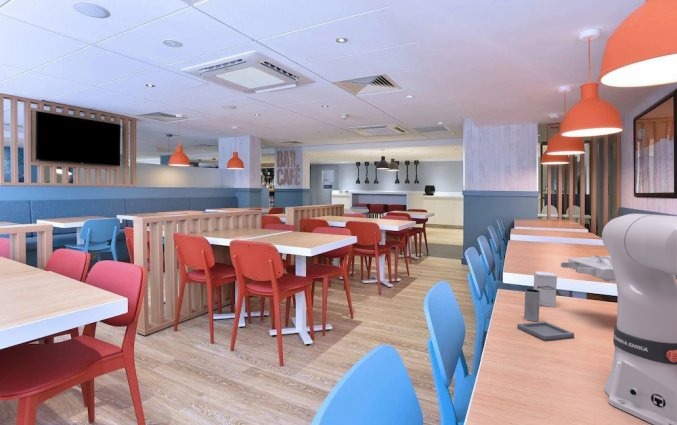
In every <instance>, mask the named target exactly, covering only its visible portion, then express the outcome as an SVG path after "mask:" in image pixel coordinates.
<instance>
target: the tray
mask: <svg viewBox="0 0 677 425" xmlns="http://www.w3.org/2000/svg"><path fill="white" fill-rule="evenodd" d="M516 328H517V329H518V330H520V331H521V332H524V333H526V334H527V335H530V336H532V337H534V338H537V339H539V340H541V341H543V342H550V341H552V342H553V341H560V340H561V341H562V340H571V339H575V332H572V331H570V330H567V329H564V328H563V327H559V326H557V325H555V324H552V323H550V322H548V321H537V322H526V323H517V327H516Z"/></svg>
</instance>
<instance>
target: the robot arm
mask: <svg viewBox="0 0 677 425" xmlns="http://www.w3.org/2000/svg"><path fill="white" fill-rule="evenodd" d="M601 239H602V240H601V242H602V243H603V245H604V247H605V248H606V250H607V251H608V254H609V255H601V256H600V255H591V256H590V257H588V256H587V257H586V256H584V257H583V256H582V257H570V258H568V260H567V261H566V262H565V261H561V262H560V267H561V268H565V269H571V270H574V271H575V273H578V274H586V275H589V276H592V277H595V278H598V279H601V280H602V281H603V282H611V283H612V282H614V283H616V292H617V308H616V310H617V311H616V312H617V313H616V325H615V326H614V327H613V328H614V329H613V345H614V353H613V360H612V364H611V369H610V372H609V375H608V378H607V381H606V383H605V385H604V390H605V393H606V395H607V396H608V404H609V405H611V406H613V407H615V408H617V409H619V410H621V411H624V412H626V413H628V414H631V415H632V416H635V417H636V418H639V419H641V420H643V421H645V422H648V423H650V424H652V425H677V215H667V214H666V215H664V214H651V213H650V214H649V213H628V214H624V215H621V216H618V217H614V218H613V219H610V220H609V221H608V222H606V224H605V225H604V227H603V229H602V233H601Z"/></svg>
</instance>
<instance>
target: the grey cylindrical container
mask: <svg viewBox="0 0 677 425" xmlns="http://www.w3.org/2000/svg"><path fill="white" fill-rule="evenodd" d="M539 302H540V291H539V290H535V289H534V288H526V289H525V290H524V308H523V310H524V313H523V314H524V315H523V318H524V320H526V321H528V322H532V323H534V322H540V321H539V320H540V305H539Z"/></svg>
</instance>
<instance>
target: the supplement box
mask: <svg viewBox="0 0 677 425" xmlns="http://www.w3.org/2000/svg"><path fill="white" fill-rule="evenodd" d="M533 272H534V274H533V289H535V290H539V291H540V302H539V306H544V307H549V306H550V307H551V308H556V303H557V283H558V281H557V280H558V275H557V274H556V273H555V272H549V271H537V270H535V271H533Z"/></svg>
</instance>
